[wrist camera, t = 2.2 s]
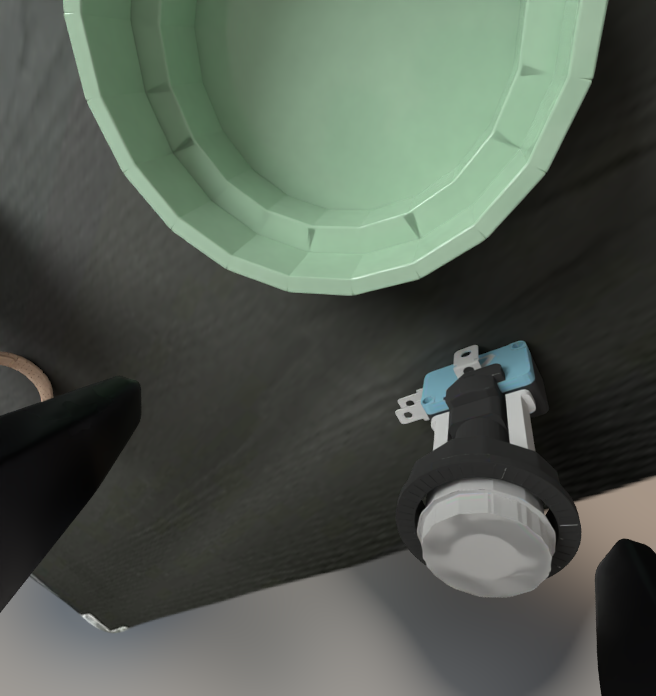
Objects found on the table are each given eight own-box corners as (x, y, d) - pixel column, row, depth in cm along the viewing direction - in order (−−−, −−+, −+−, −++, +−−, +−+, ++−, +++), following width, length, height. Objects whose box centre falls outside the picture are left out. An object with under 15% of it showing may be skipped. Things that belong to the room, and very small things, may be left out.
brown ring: (54, 407, 31) (-11, 461, 27) (-7, 352, 30) (-85, 399, 26) (74, 388, 30) (9, 442, 26) (11, 329, 29) (-68, 376, 25)
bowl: (674, -173, 13) (782, -298, 9) (460, 289, 21) (457, 354, 16) (185, -309, 14) (48, -483, 10) (153, 180, 22) (67, 212, 17)
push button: (425, 438, 25) (401, 628, 17) (375, 354, 23) (321, 519, 15) (561, 399, 22) (615, 606, 14) (516, 300, 21) (546, 467, 12)
